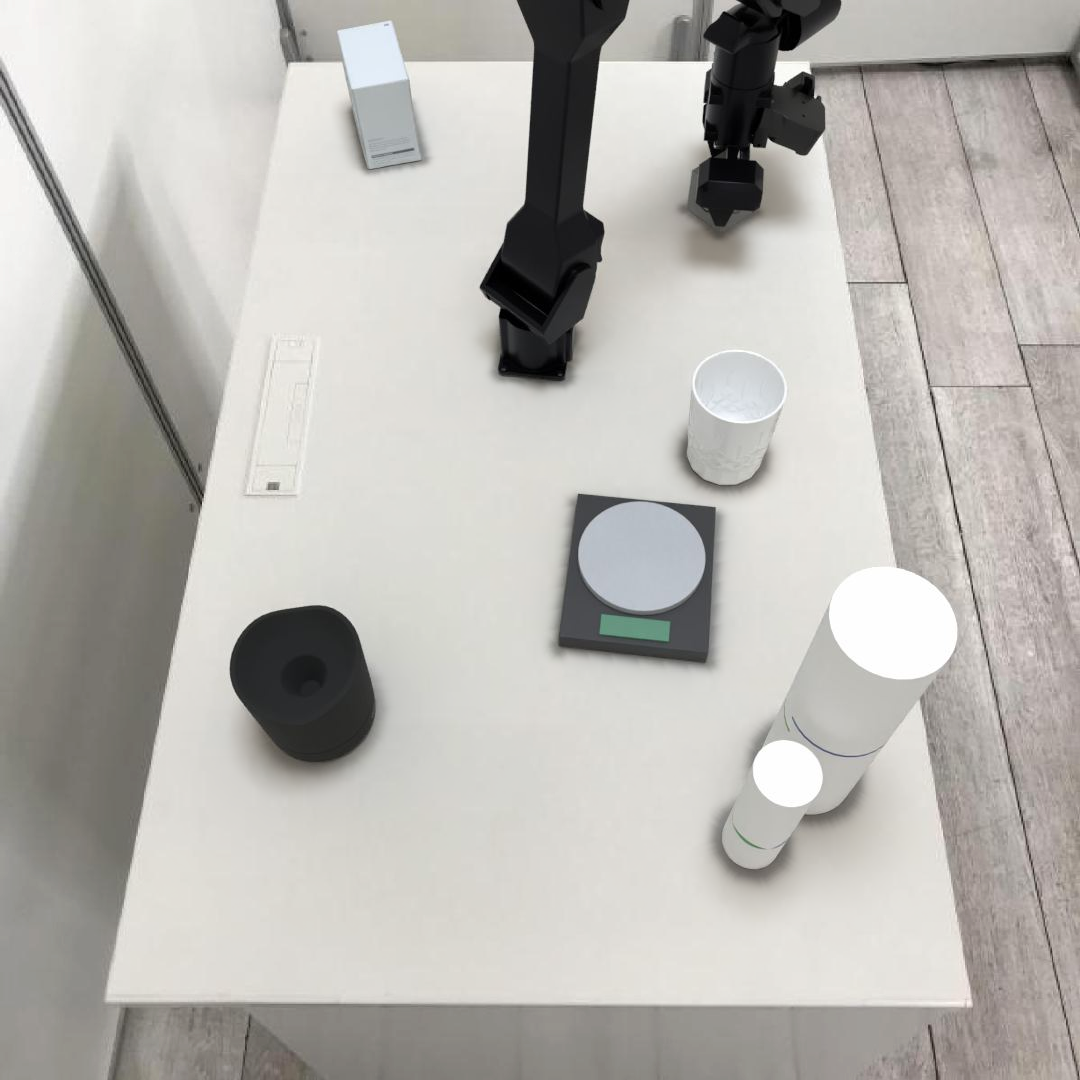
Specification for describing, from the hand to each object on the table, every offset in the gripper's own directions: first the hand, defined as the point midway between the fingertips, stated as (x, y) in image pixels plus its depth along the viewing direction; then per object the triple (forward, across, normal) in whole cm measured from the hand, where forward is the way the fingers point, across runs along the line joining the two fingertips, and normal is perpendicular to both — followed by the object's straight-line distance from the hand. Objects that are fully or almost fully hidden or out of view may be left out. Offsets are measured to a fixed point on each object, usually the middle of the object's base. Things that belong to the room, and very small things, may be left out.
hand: (721, 203), depth 113 cm
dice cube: (+1, 0, 0) cm, 1 cm away
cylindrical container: (+1, -61, -9) cm, 62 cm away
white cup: (+1, -32, -2) cm, 32 cm away
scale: (+1, -46, +5) cm, 46 cm away
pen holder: (+1, -61, +29) cm, 68 cm away
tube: (+1, -67, -5) cm, 67 cm away
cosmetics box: (+1, +8, +38) cm, 39 cm away
